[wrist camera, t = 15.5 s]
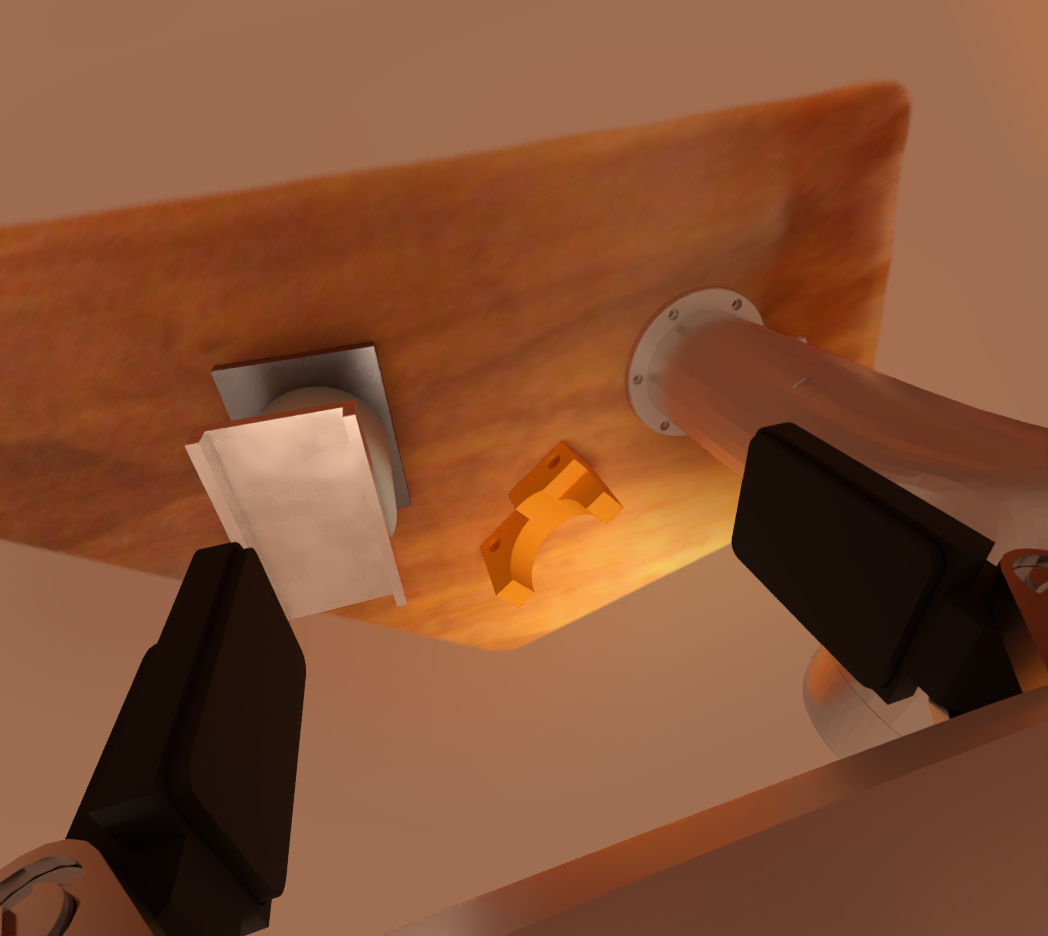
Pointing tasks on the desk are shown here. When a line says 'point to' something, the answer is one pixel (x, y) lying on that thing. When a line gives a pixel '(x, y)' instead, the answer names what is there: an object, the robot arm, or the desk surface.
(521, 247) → the desk surface
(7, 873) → the robot arm
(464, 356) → the desk surface
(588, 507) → the pipe clamp
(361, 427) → the cylinder with tray top
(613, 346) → the desk surface
